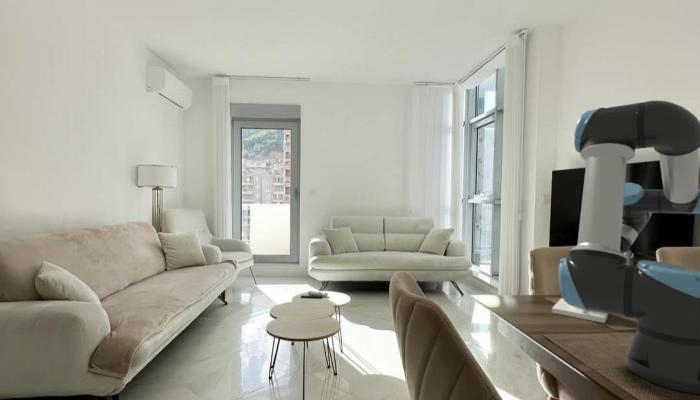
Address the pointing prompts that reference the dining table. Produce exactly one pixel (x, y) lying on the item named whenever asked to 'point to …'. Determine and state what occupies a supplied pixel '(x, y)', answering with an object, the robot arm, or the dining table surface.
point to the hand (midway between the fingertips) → (586, 286)
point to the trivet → (578, 312)
